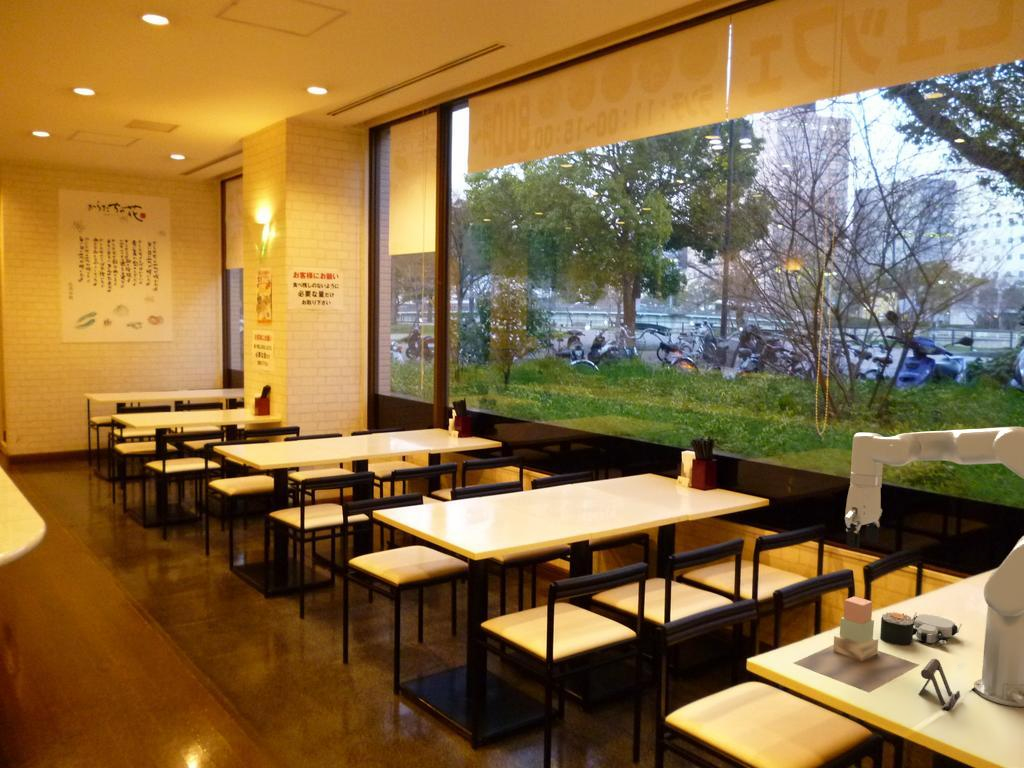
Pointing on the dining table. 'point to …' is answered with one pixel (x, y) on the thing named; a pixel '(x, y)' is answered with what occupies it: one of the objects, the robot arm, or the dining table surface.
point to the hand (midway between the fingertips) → (862, 544)
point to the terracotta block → (858, 610)
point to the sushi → (897, 629)
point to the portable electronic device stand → (929, 674)
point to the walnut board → (857, 668)
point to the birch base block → (855, 647)
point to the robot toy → (933, 628)
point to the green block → (856, 630)
